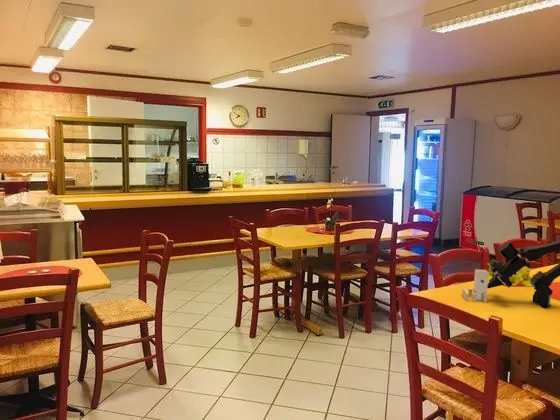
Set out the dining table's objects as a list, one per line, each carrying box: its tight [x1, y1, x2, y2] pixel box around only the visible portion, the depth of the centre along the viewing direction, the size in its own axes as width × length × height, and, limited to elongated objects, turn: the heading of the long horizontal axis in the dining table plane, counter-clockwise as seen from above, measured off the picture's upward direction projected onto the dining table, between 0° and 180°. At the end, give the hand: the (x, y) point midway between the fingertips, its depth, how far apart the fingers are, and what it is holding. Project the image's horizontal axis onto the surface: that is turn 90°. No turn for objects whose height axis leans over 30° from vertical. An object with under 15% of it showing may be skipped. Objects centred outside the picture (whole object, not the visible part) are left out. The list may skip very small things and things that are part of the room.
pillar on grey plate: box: [472, 269, 489, 302], centre depth 224 cm, size 5×5×14 cm
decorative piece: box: [486, 263, 534, 288], centre depth 264 cm, size 26×8×30 cm
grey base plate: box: [461, 287, 488, 304], centre depth 225 cm, size 17×12×4 cm
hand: (486, 287), depth 224 cm, fingers closed, pressing on pillar on grey plate
